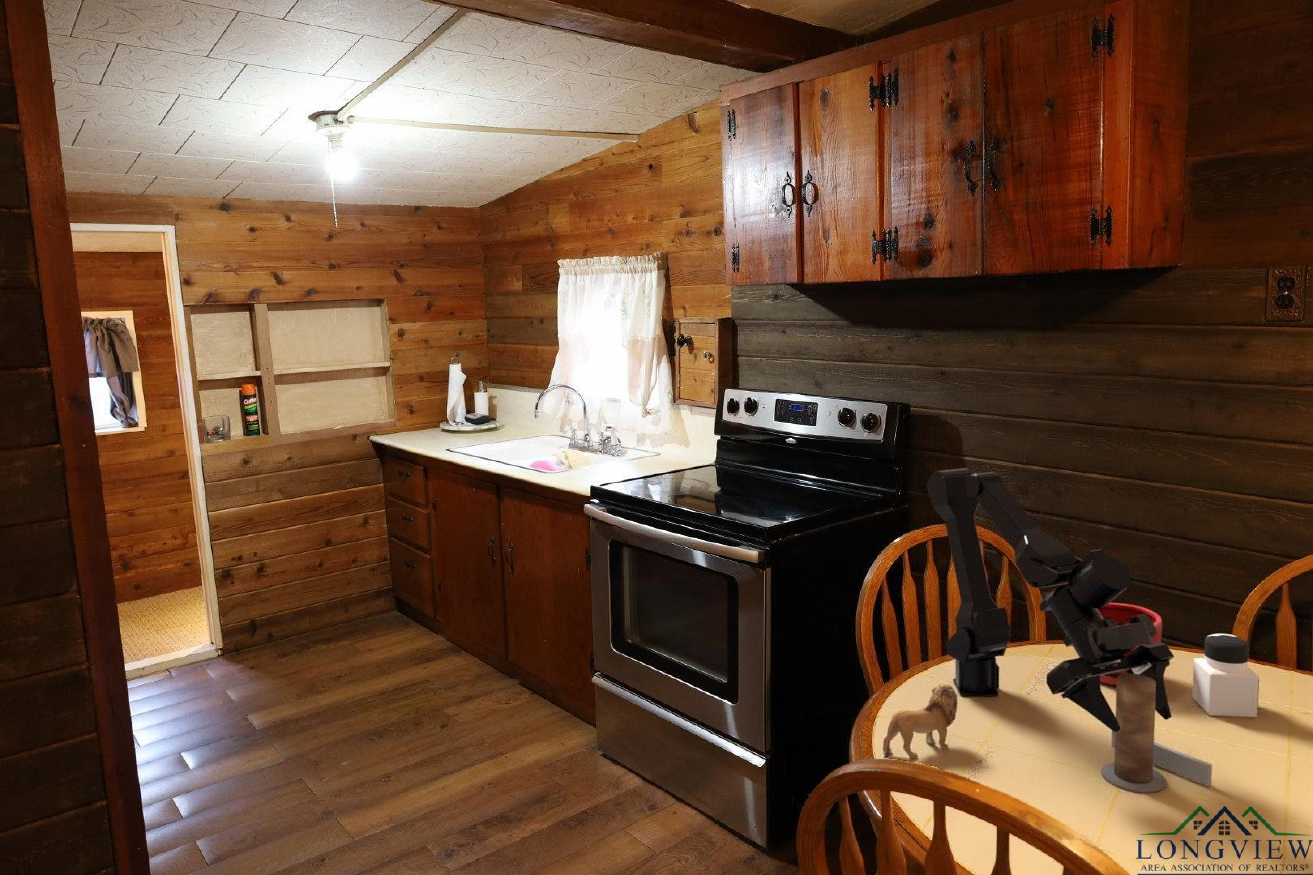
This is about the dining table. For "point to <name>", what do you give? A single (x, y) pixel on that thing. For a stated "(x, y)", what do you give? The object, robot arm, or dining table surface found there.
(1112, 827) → the dining table surface
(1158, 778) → the resting pad
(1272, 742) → the dining table surface
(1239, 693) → the medicine bottle
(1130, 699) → the pepper mill
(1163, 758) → the low wall
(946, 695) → the lion figurine
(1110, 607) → the plant pot
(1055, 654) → the dining table surface
